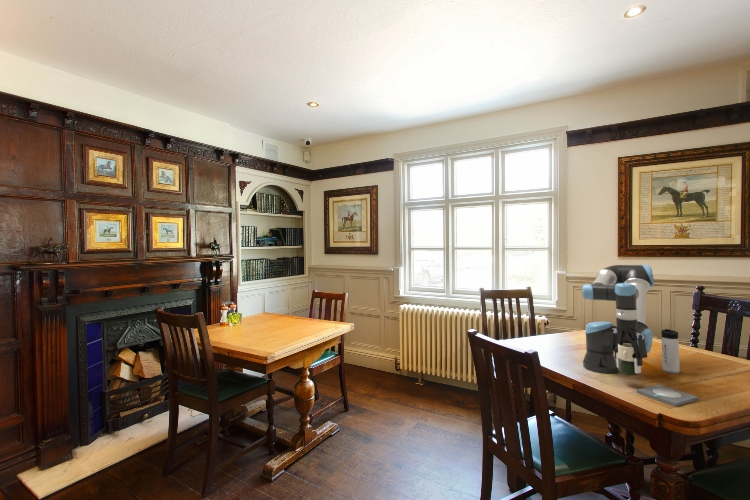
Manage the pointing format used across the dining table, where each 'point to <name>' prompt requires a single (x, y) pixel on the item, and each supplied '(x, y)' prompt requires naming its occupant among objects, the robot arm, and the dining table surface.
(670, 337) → the travel mug
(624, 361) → the character mug
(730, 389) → the dining table surface
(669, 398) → the charging pad
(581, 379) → the dining table surface
